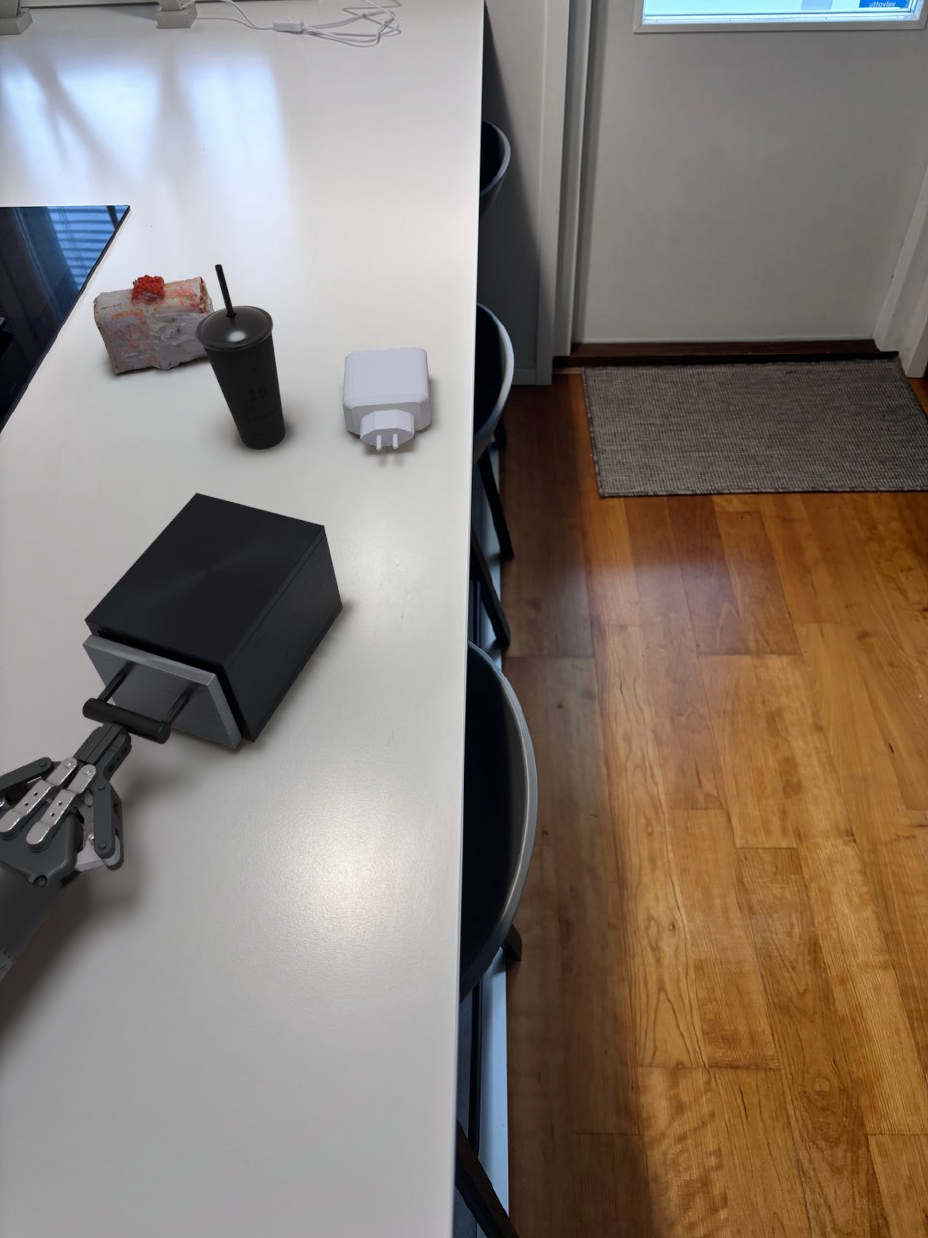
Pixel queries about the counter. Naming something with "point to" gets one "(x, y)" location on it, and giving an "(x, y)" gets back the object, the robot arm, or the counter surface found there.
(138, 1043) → the counter surface
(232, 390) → the drinking cup
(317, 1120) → the counter surface
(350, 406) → the charger
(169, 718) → the drawer
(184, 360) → the food item
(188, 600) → the cabinet
